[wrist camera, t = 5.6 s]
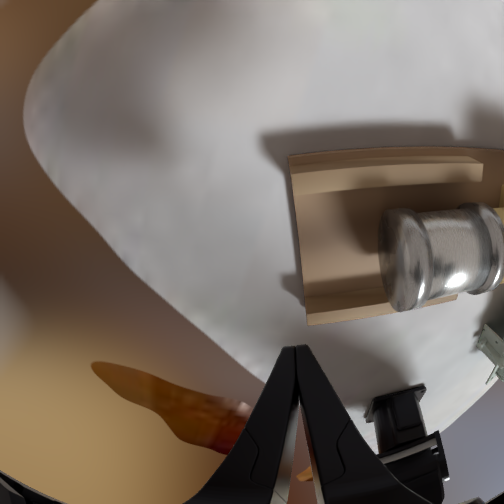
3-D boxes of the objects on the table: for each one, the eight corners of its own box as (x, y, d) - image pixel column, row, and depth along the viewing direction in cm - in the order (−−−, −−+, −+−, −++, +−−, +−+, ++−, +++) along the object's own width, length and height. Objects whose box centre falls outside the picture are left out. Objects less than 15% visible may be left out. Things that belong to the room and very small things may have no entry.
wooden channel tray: (507, 270, 15) (551, 329, 9) (305, 308, 18) (314, 404, 12) (531, 153, 10) (600, 195, 4) (287, 155, 13) (301, 215, 7)
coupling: (454, 259, 15) (491, 309, 11) (375, 272, 16) (402, 333, 12) (465, 188, 12) (518, 228, 8) (378, 194, 13) (420, 242, 9)
